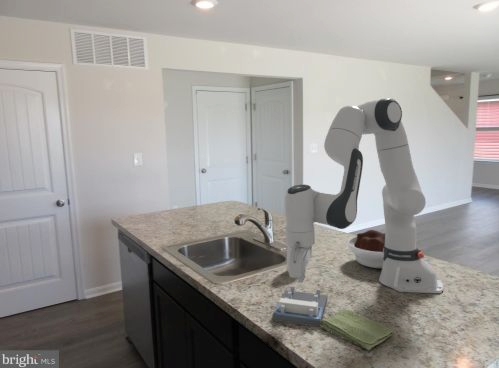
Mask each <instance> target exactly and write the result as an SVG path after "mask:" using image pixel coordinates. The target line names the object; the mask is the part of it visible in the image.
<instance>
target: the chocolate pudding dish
mask: <svg viewBox="0 0 499 368" xmlns="http://www.w3.org/2000/svg"><path fill="white" fill-rule="evenodd" d="M346 243H347V244H346V245H347V248H348V249H349V251H350V252H351V253H352V254H353V257H354V259H355V261H356V262H357V263H359V264H360V265H362V266H365V267H369V268H373V269H374V268H375V269H382V267H383V261H384V260H383V247H384V245H385V232H384V233H383V232H380V231H378V230H375V229H369V230H366V231H364V232H361V233H357V234H356V236H354V237H352V238H349V239H348V240H347V242H346Z"/></svg>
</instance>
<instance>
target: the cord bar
mask: <svg viewBox="0 0 499 368" xmlns="http://www.w3.org/2000/svg"><path fill="white" fill-rule="evenodd" d="M278 303H279V311H281V305H285V312H291V313H299V314H306V315H309V309H314V316H317V313H318V303H317V302H309V301H302V300H294V299H286V298H279V301H278Z"/></svg>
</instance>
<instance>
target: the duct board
mask: <svg viewBox="0 0 499 368" xmlns="http://www.w3.org/2000/svg"><path fill="white" fill-rule="evenodd" d="M315 290H316V293H310V292H303V291H296V285H295V284H294V285H292V284H291V285H290V290H286V289H285V290H284V291H283V294H282V295H281V298H286V299H294V300H302V301H309V302H317V303H318V313H317V316H314V309H309V315H306V314H299V313H291V312H285V305H281V311H279V302H278V303H277V304H276V306H275V309H274V310H273V313H272V320H273V321H278V322H285V323H286V322H287V323H292V324H298V325H305V326H311V325H312V326H313V327H318V326H319V328H320V327H321V328H322V326H321V322H322V321H323V320H324V316H325V313H326V307H327V303H328V294H327V295H326V294H322V293H321V288H319V287H317V288H316V289H315ZM281 298H280V299H281ZM323 315H324V316H323ZM322 319H323V320H322Z"/></svg>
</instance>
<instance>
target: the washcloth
mask: <svg viewBox="0 0 499 368" xmlns="http://www.w3.org/2000/svg"><path fill="white" fill-rule="evenodd" d="M321 328H322V329H323V328H324V330H325V331H326V332H329V333H331V332H332V333H334V334H336V335H335V336H337V335H338V336H340V337H339V338H341V337H343V338H344V339H343V338H342V339H343V340H346V341H347V340H348V342H350V343H352V342H353V343H352V344H355V345H357V346H359V347H361V348H362V349H365V350H366V351H371V350H372V349H373V348H375V347H376V346H377V345H380V344H382V343H383V342H384V341H386V340H387V339H388V338H390V337H391V336H393V334H394V331H393V330H392V329H391V328H390V327H387V326H386V325H384V324H382V323H380V322H378V321H376V320H372V319H370V318H368V317H364V316H362V315H360V314H358V313H356V312H354V311H352V310H349V309H343V310H340V311H339V312H336V313H335V314H334V315H333V316H328V317H326V318H323V320H322V322H321ZM332 333H331V334H332ZM334 334H333V335H334ZM338 336H337V337H338Z"/></svg>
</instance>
